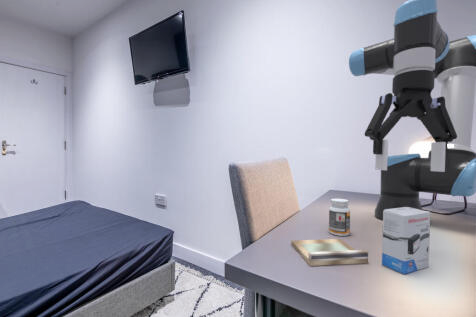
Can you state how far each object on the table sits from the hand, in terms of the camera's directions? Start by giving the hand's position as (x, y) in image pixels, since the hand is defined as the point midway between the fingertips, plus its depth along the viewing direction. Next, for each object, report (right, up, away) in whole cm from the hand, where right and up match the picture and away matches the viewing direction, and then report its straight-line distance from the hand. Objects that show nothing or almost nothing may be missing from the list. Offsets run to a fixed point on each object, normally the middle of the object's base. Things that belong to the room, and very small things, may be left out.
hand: (409, 170), depth 54 cm
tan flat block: (-17, -20, +4) cm, 26 cm away
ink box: (-3, -20, -2) cm, 20 cm away
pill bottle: (-8, -20, +18) cm, 28 cm away
